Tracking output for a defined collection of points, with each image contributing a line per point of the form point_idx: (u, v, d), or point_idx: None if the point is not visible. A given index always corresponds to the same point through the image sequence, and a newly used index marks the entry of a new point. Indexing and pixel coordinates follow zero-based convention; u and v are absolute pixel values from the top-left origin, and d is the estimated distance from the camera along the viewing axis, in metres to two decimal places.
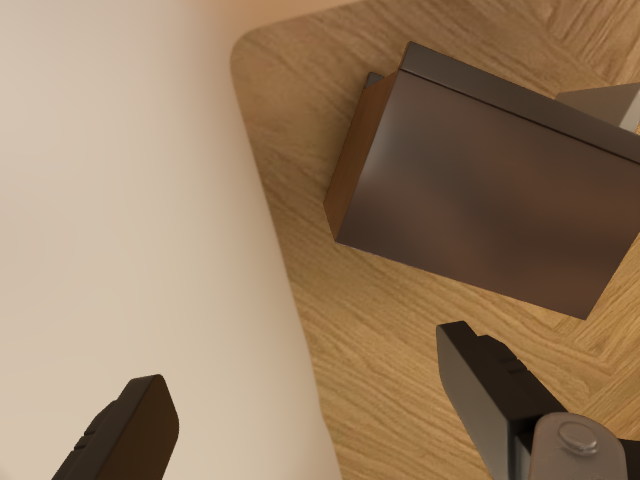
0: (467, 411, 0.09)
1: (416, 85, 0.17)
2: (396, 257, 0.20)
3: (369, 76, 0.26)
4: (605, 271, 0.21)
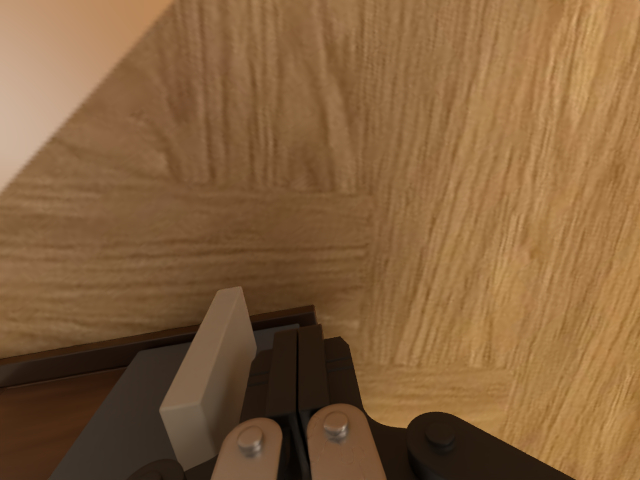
0: None
1: None
2: None
3: None
4: None
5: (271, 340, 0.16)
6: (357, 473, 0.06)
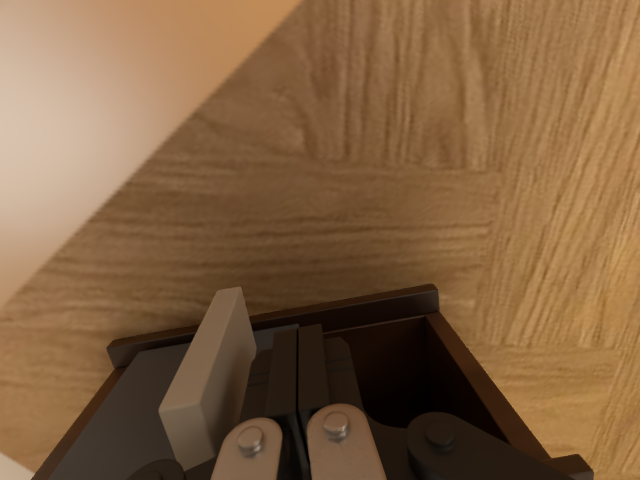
0: None
1: None
2: None
3: (109, 353, 0.17)
4: None
5: (271, 340, 0.16)
6: (357, 473, 0.06)
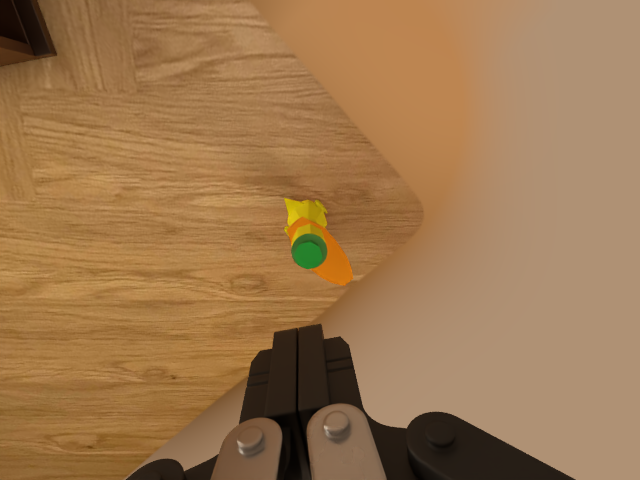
0: None
1: None
2: None
3: None
4: None
5: None
6: (357, 473, 0.06)
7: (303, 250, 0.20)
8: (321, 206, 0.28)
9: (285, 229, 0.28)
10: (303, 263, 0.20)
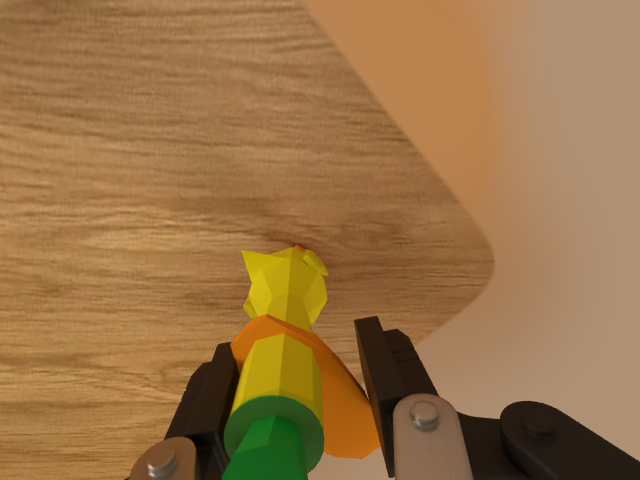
0: (370, 397, 0.10)
1: None
2: None
3: None
4: None
5: None
6: (441, 466, 0.06)
7: (249, 467, 0.07)
8: (316, 265, 0.14)
9: (245, 307, 0.14)
10: None
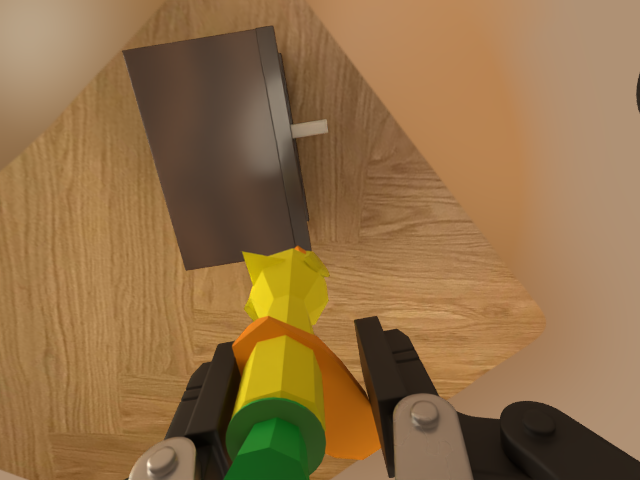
0: (370, 397, 0.10)
1: (252, 47, 0.24)
2: (141, 105, 0.25)
3: (277, 54, 0.33)
4: (222, 257, 0.29)
5: None
6: (441, 466, 0.06)
7: (251, 469, 0.07)
8: (317, 267, 0.14)
9: (246, 308, 0.14)
10: None
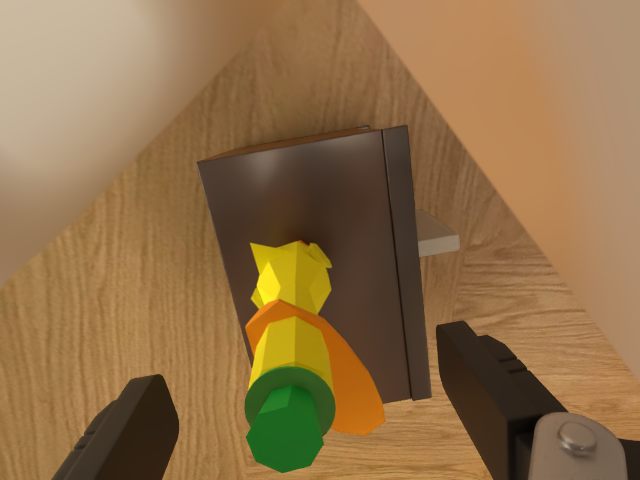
0: (467, 411, 0.09)
1: (376, 153, 0.18)
2: (219, 230, 0.18)
3: (365, 126, 0.26)
4: None
5: None
6: None
7: (271, 427, 0.07)
8: (321, 258, 0.15)
9: (253, 297, 0.15)
10: (271, 458, 0.08)
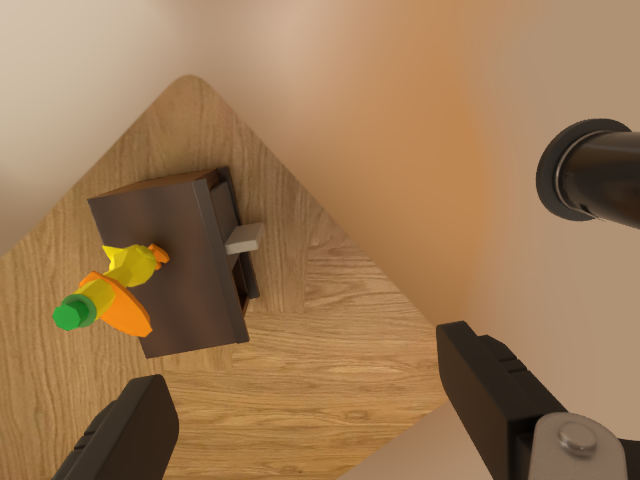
0: (467, 411, 0.09)
1: (190, 193, 0.31)
2: (103, 238, 0.31)
3: (224, 167, 0.39)
4: (176, 348, 0.35)
5: None
6: None
7: (61, 312, 0.20)
8: (142, 253, 0.28)
9: None
10: (62, 325, 0.21)
